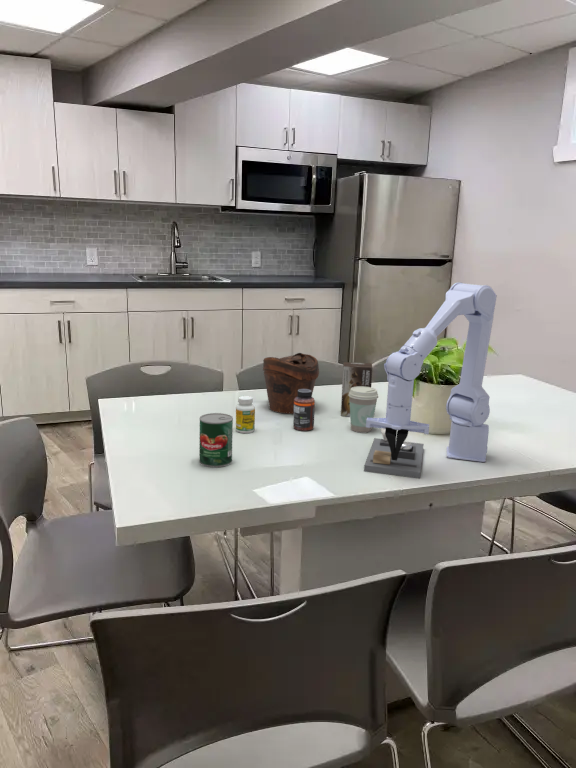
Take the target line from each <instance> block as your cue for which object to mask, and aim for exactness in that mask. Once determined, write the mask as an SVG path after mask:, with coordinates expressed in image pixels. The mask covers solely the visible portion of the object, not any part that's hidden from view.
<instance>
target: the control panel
mask: <svg viewBox="0 0 576 768" xmlns="http://www.w3.org/2000/svg"><path fill="white" fill-rule="evenodd" d="M408 442H409V443H411V444H412V451H411V452H407V451H399V454H398V458H397V460H391V462H390V465H388V464H380V463H373V455H374V452H375V450H377V451H385V452H391V450H390V446H389V443H388V440H384V439H383V438H376V437H374V439H373V441H372V443H371V447H370V448H369V451H368V455H367V456H366V460H365V462H364V465H363V472H367V473H368V472H369V473H374V474H383V475H389V476H390V475H392V476H399V477H407V478H415V479H420V478H421V472H422V463H423V455H424V454H423V453H424V443H421V442H419V443H418V442H411V441H408Z"/></svg>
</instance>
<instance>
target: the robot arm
mask: <svg viewBox="0 0 576 768" xmlns="http://www.w3.org/2000/svg"><path fill="white" fill-rule="evenodd" d="M444 297H445V300H444V301H443V303H442V304H441V306H440V307H439V309H438V310H437V311H436V313H435V314H434V315H433V317H432V318H431V319H430V320H429V322H428V324H427V325H426V326H425V327H422V328H421V327H420V328H417V329H415V330H414V331H413V332H412V335H411V336H410V337H409V339H407V341H406V342H405V343H404V344H403V345H402V346H401V347H400V349H399V350H398V351H395V352H392V353H391V354H390V355H389V356H388V357H387V358H386V361H385V363H383V368H384V371H385V373H386V376H387V378H386V380H387V383H388V384H387V397H386V407H385V409H386V411H385V417H374V418H367V420H366V427H367V428H370V427H372V428H377V429H381V428H384V429H386V430H385V435H386V438H387V440H388V443H389V446H390V450H391V460H397V458H398V454H399V451H400V449H401V446H402V445H403V443H404V442H406V439H407V438H408V434H409V432H411V433H412V432H413V433H420V434H424V435H429V433H430V432H429V431H430V423H423V422H418V421H413V420H411V418H412V417H411V416H412V406H413V405H412V404H413V395H414V394H413V393H414V381H415V379H416V378H417V377H418V376H419V375H420V373H421V371H422V366H423V364H424V361H425V360H426V358H427V357H428V356H429V355H430V353H431V352H432V351H433V350H434V349H435V347H436V346H437V345H438V336H440V335H441V334H442V332H443V331H444V330H445V329H446V328H447V327H448V326H449V325H450V324H451V323H452V322H453V321H454V320H455V319H457V317H458V316H464V318H466V320H467V322H469V323H468V329H467V336H466V340H465V341H466V342H465V348H464V354H463V360H462V366H461V372H460V378H459V379H460V380H459V384H457V385H455V386H453V387H452V388H451V389H450V394H449V397H448V399H447V401H446V405H445V410H446V412H447V415H449V420H450V421H451V422H450V431H449V433H450V434H449V442H448V445H447V446H446V458H448V459H456V460H464V461H472V462H473V461H474V462H479V463H485V462H487V461H486V458H487V453H488V442H489V433H490V431H489V430H490V427H489V424H486V421H487V420H488V419H489V417H490V413H491V411H490V410H491V409H490V395H489V394H488V392H487V391H486V390H485V389H484V387H483V382H484V375H485V369H486V363H487V357H488V352H489V346H490V345H489V344H490V340H491V333H492V328H493V323H494V314H495V310H496V308H495V307H496V304H497V303H496V301H497V298H498V295H497V294H496V292H495V291H494V289H493V288H492V286H490V285H488V284H483V285H482V284H475V283H474V284H472V283H463V282H459V281H458V282H455V283H454V284H452V285H451V286H450V288H449V289H448V291H446V293H445V296H444Z"/></svg>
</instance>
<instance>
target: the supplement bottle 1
mask: <svg viewBox="0 0 576 768" xmlns="http://www.w3.org/2000/svg"><path fill="white" fill-rule="evenodd" d="M237 400H238V401H237V402H238V404H237V405H235V431H236V432H237V433H241V434H250V433H253V432H254V431H255V429H256V428H255V427H256V425H255V424H256V423H255V420H256V419H255V417H256V407H255V406H256V405H254V404H253V401H254V398H253V397H252V396H250V395H249V396H248V395H241V396H239V397H238V399H237Z"/></svg>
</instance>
